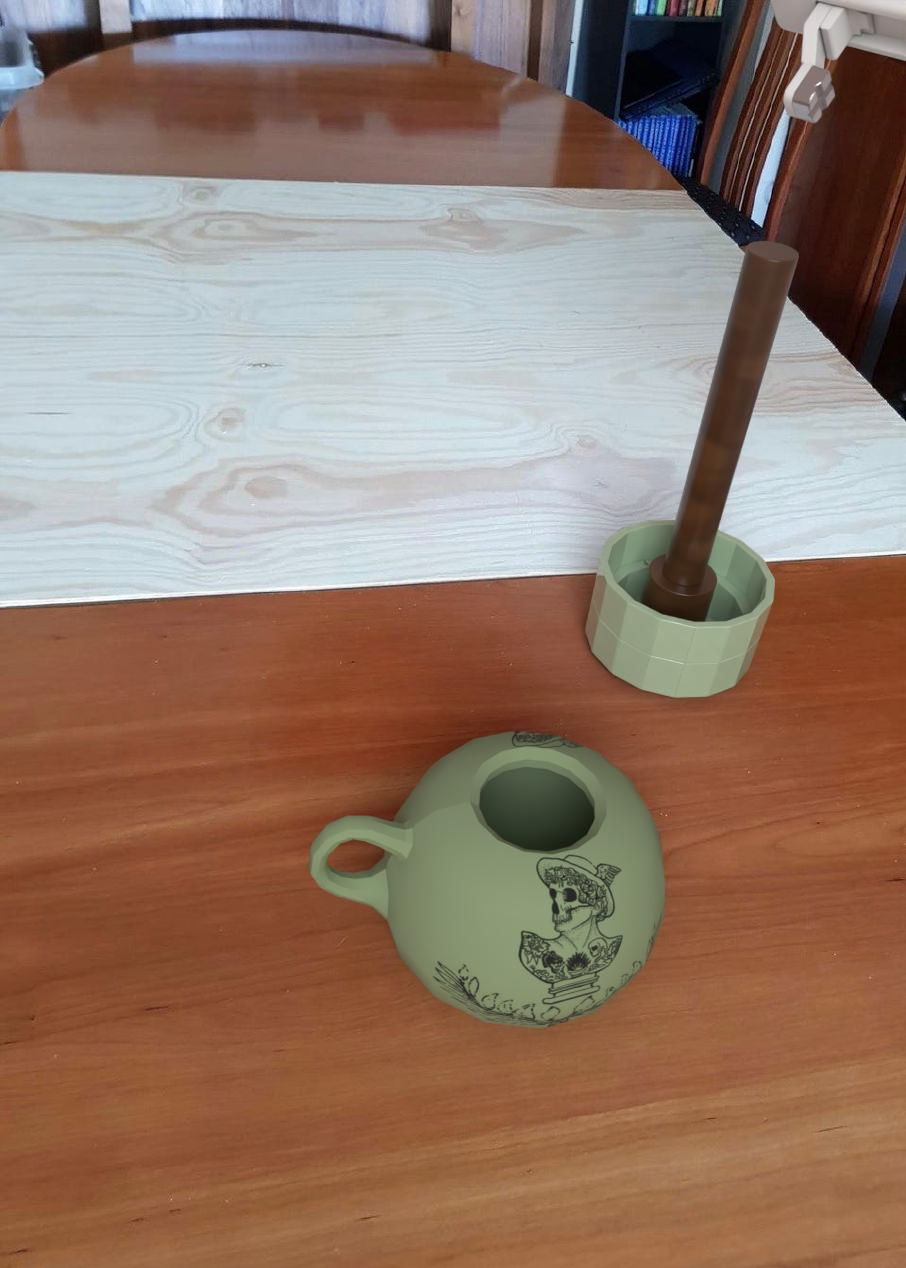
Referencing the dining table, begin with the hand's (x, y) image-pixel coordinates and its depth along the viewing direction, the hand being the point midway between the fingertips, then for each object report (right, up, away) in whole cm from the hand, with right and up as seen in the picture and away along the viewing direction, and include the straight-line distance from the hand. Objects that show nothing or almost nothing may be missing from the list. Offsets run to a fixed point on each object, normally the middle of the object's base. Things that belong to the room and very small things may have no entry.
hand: (886, 138), depth 48 cm
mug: (-18, -36, +2) cm, 40 cm away
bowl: (-7, -23, +17) cm, 30 cm away
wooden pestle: (-7, -23, +17) cm, 29 cm away
